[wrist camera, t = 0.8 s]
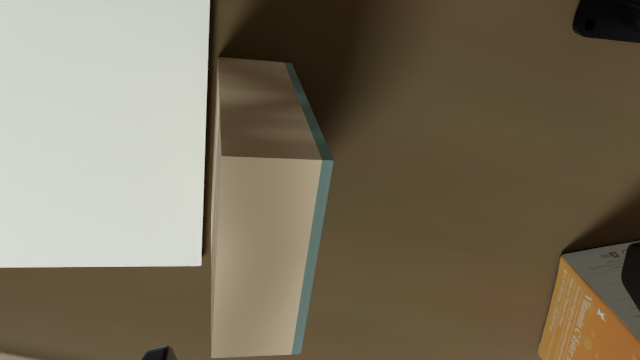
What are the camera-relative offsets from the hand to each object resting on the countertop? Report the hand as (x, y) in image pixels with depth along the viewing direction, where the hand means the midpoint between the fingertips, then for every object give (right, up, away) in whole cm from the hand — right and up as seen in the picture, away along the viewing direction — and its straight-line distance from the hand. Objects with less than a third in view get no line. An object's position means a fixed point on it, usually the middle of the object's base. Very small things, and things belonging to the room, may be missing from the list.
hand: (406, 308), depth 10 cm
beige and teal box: (-5, +4, +11) cm, 13 cm away
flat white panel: (-11, +4, +10) cm, 15 cm away
